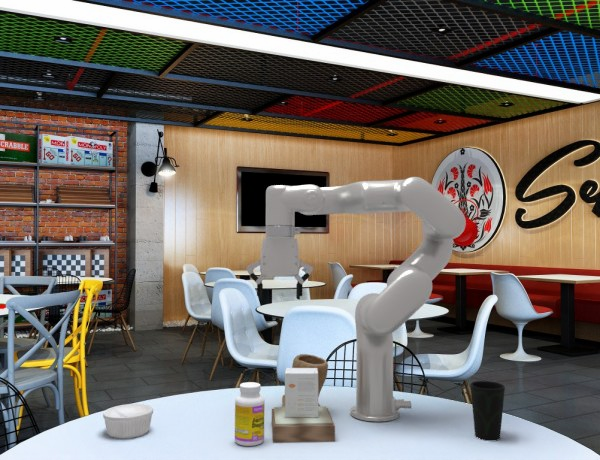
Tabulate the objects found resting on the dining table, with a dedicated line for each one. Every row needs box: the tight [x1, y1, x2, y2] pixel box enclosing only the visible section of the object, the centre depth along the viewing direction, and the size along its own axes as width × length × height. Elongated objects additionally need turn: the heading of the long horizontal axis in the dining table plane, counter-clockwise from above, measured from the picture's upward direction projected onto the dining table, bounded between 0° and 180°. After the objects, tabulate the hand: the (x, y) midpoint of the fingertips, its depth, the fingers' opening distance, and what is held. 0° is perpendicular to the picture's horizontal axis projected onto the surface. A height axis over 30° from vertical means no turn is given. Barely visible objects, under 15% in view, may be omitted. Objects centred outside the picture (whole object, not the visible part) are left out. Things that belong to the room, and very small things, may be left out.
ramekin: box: [102, 403, 154, 440], centre depth 136 cm, size 11×11×5 cm
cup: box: [469, 380, 506, 441], centre depth 134 cm, size 8×8×12 cm
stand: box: [271, 405, 336, 443], centre depth 137 cm, size 14×14×4 cm
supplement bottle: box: [234, 381, 265, 447], centre depth 130 cm, size 7×7×13 cm
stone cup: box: [281, 353, 329, 407], centre depth 153 cm, size 15×12×15 cm
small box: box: [284, 367, 320, 417], centre depth 137 cm, size 8×6×10 cm
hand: (279, 299), depth 149 cm, fingers open, 9 cm apart
